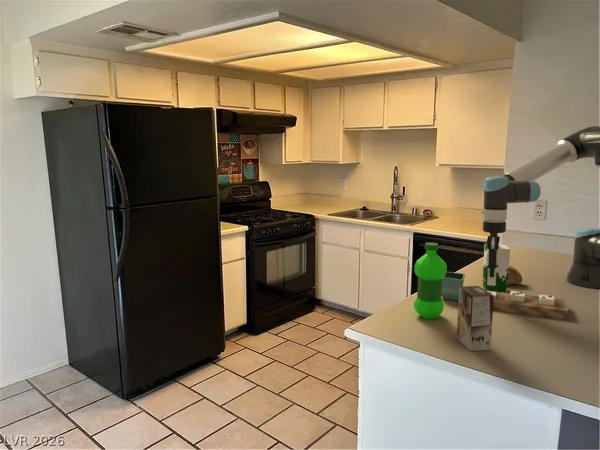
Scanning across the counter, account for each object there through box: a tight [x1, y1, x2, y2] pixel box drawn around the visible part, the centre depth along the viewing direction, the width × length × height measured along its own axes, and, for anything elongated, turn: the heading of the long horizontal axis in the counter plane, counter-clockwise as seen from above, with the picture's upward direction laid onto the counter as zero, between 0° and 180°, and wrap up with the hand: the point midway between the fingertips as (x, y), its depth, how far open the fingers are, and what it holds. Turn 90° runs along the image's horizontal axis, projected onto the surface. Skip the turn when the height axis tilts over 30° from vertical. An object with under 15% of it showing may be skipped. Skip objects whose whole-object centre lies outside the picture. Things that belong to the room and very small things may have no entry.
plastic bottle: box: [413, 242, 448, 320], centre depth 145 cm, size 10×10×25 cm
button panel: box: [486, 290, 569, 320], centre depth 154 cm, size 30×12×3 cm, turn 64°
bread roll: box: [507, 265, 523, 285], centre depth 182 cm, size 10×15×8 cm, turn 59°
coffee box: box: [456, 285, 494, 352], centre depth 125 cm, size 9×6×16 cm
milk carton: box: [482, 240, 511, 293], centre depth 172 cm, size 9×9×20 cm
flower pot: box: [441, 271, 466, 301], centre depth 164 cm, size 9×9×9 cm
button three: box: [509, 290, 526, 302], centre depth 154 cm, size 4×4×4 cm
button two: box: [538, 294, 555, 306], centre depth 150 cm, size 4×4×4 cm
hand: (491, 284), depth 157 cm, fingers closed
